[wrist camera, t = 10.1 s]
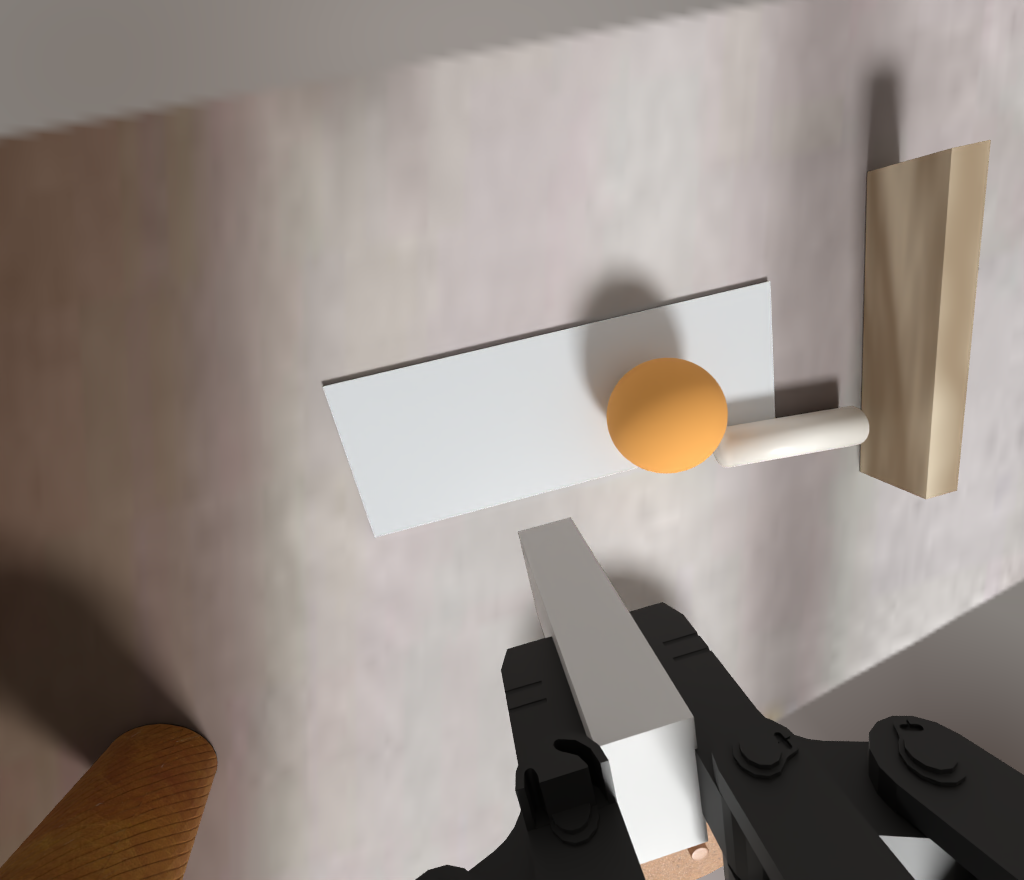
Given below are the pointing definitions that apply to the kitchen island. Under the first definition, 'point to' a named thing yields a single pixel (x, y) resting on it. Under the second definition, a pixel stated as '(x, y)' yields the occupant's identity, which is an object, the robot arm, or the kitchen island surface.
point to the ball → (667, 415)
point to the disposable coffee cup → (125, 812)
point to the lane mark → (535, 407)
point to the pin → (792, 436)
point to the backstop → (920, 315)
